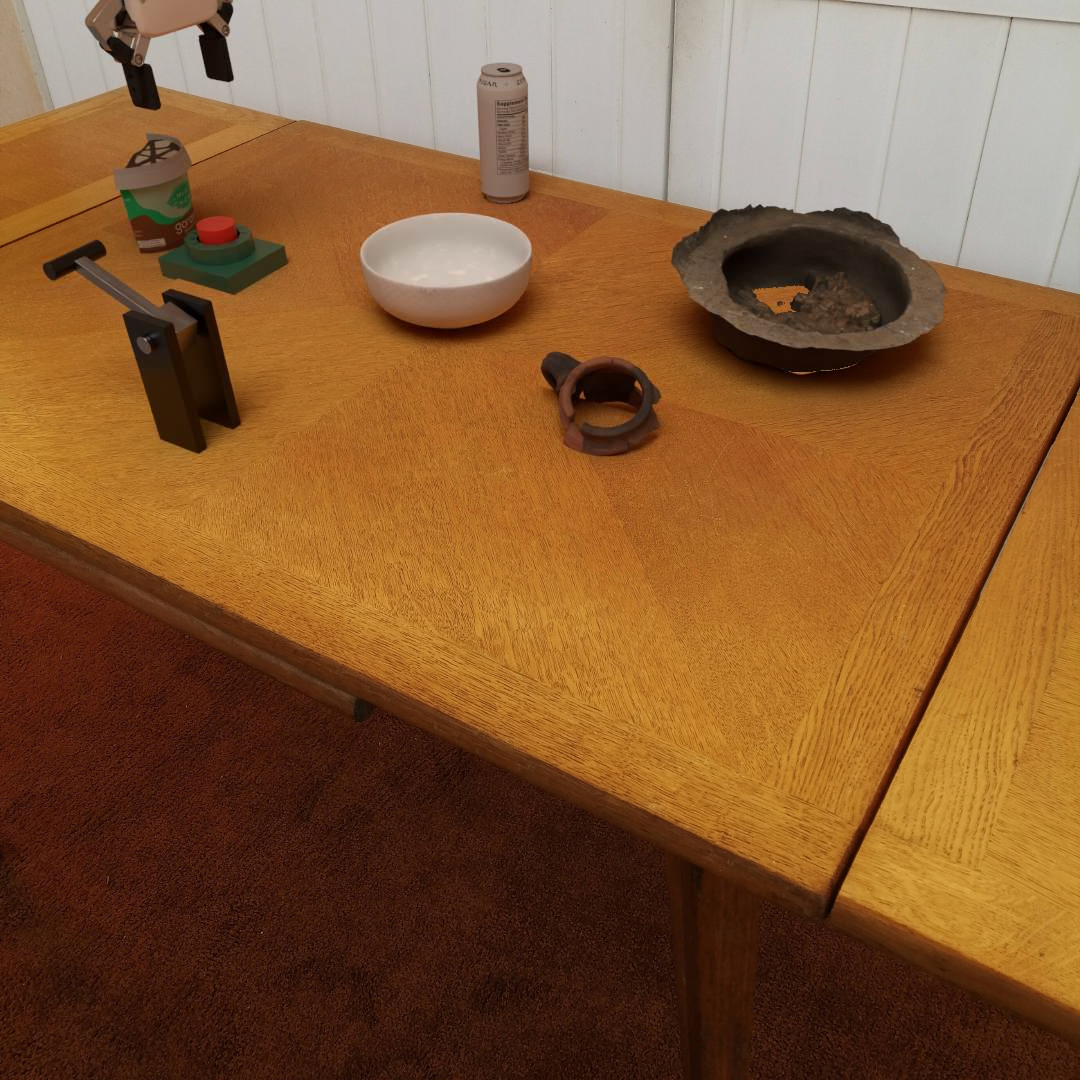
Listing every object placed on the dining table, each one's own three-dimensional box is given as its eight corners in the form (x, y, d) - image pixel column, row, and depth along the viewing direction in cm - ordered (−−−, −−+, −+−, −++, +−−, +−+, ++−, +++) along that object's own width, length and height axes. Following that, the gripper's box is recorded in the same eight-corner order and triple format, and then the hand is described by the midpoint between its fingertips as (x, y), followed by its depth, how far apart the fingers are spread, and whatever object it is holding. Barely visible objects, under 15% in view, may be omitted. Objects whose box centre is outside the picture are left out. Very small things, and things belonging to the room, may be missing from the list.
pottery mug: (681, 424, 87) (686, 379, 79) (617, 506, 85) (616, 468, 77) (572, 354, 90) (566, 304, 83) (507, 432, 88) (495, 388, 81)
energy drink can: (513, 183, 129) (510, 58, 119) (538, 198, 125) (537, 70, 115) (473, 193, 126) (466, 66, 117) (496, 208, 123) (491, 79, 113)
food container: (191, 259, 112) (168, 170, 106) (136, 260, 112) (110, 170, 106) (219, 215, 121) (200, 131, 115) (169, 215, 122) (147, 131, 115)
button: (191, 242, 107) (187, 226, 106) (218, 228, 110) (214, 213, 109) (219, 249, 106) (216, 233, 104) (245, 236, 108) (242, 220, 107)
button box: (162, 276, 109) (153, 241, 106) (220, 246, 115) (213, 212, 112) (231, 297, 105) (223, 261, 103) (288, 264, 111) (281, 229, 108)
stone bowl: (723, 259, 111) (739, 176, 104) (949, 328, 102) (981, 242, 96) (624, 355, 94) (637, 263, 88) (884, 446, 86) (918, 353, 80)
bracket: (122, 451, 84) (75, 312, 76) (191, 405, 89) (154, 271, 81) (219, 490, 80) (181, 348, 71) (286, 439, 85) (257, 302, 77)
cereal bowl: (335, 330, 99) (324, 264, 95) (420, 264, 111) (414, 201, 106) (486, 367, 94) (482, 298, 89) (559, 293, 105) (560, 228, 101)
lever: (43, 279, 78) (41, 254, 76) (93, 255, 81) (93, 230, 79) (162, 364, 76) (163, 340, 75) (208, 336, 80) (210, 313, 78)
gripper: (179, -130, 93) (220, 65, 105) (24, -102, 82) (88, 113, 93) (239, -126, 91) (274, 75, 102) (86, -96, 79) (145, 126, 90)
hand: (185, 93), depth 98 cm, fingers open, 9 cm apart
